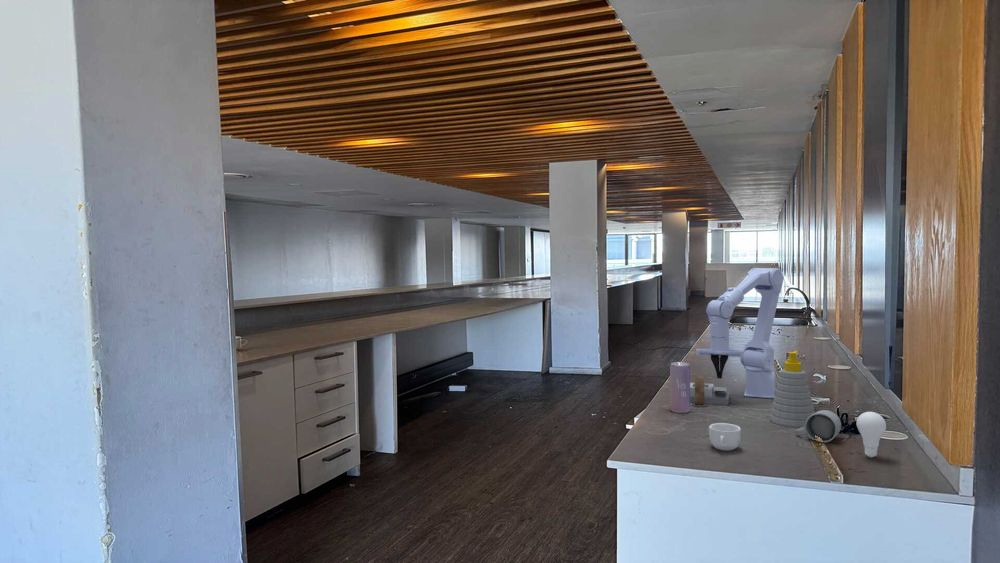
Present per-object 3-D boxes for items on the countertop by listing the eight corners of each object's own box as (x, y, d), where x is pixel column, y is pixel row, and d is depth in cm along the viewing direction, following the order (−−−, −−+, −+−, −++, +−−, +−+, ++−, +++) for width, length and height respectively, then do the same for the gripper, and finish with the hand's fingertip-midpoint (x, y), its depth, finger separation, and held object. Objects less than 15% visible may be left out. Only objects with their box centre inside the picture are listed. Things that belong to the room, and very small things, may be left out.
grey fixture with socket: (729, 397, 214) (729, 384, 213) (728, 405, 204) (728, 391, 203) (690, 394, 219) (690, 381, 219) (686, 402, 209) (686, 388, 208)
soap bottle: (822, 420, 183) (822, 351, 182) (808, 430, 174) (808, 357, 173) (778, 413, 192) (778, 347, 191) (763, 422, 183) (763, 353, 182)
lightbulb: (850, 453, 154) (850, 409, 153) (874, 452, 154) (874, 408, 154) (867, 462, 148) (867, 415, 147) (891, 460, 148) (892, 414, 148)
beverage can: (688, 408, 200) (687, 361, 199) (691, 413, 194) (691, 365, 193) (668, 408, 201) (668, 362, 200) (672, 413, 195) (671, 365, 194)
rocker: (726, 391, 212) (726, 387, 212) (725, 391, 206) (725, 387, 206) (715, 391, 213) (715, 387, 214) (713, 390, 207) (713, 386, 207)
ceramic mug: (842, 437, 167) (842, 408, 167) (836, 445, 161) (836, 415, 160) (799, 431, 174) (799, 404, 173) (792, 439, 167) (791, 410, 167)
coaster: (707, 404, 205) (707, 403, 205) (706, 407, 201) (706, 406, 201) (693, 403, 207) (692, 402, 207) (691, 406, 202) (691, 405, 202)
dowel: (704, 403, 204) (704, 376, 204) (704, 405, 202) (704, 378, 201) (694, 403, 205) (694, 375, 205) (694, 405, 202) (694, 377, 202)
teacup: (711, 442, 165) (711, 421, 165) (742, 445, 162) (742, 424, 162) (705, 453, 157) (705, 431, 156) (738, 457, 153) (738, 435, 153)
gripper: (695, 337, 205) (695, 378, 205) (742, 339, 199) (742, 381, 200) (697, 334, 211) (697, 374, 212) (743, 336, 206) (743, 377, 206)
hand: (719, 377), depth 206 cm, fingers closed
